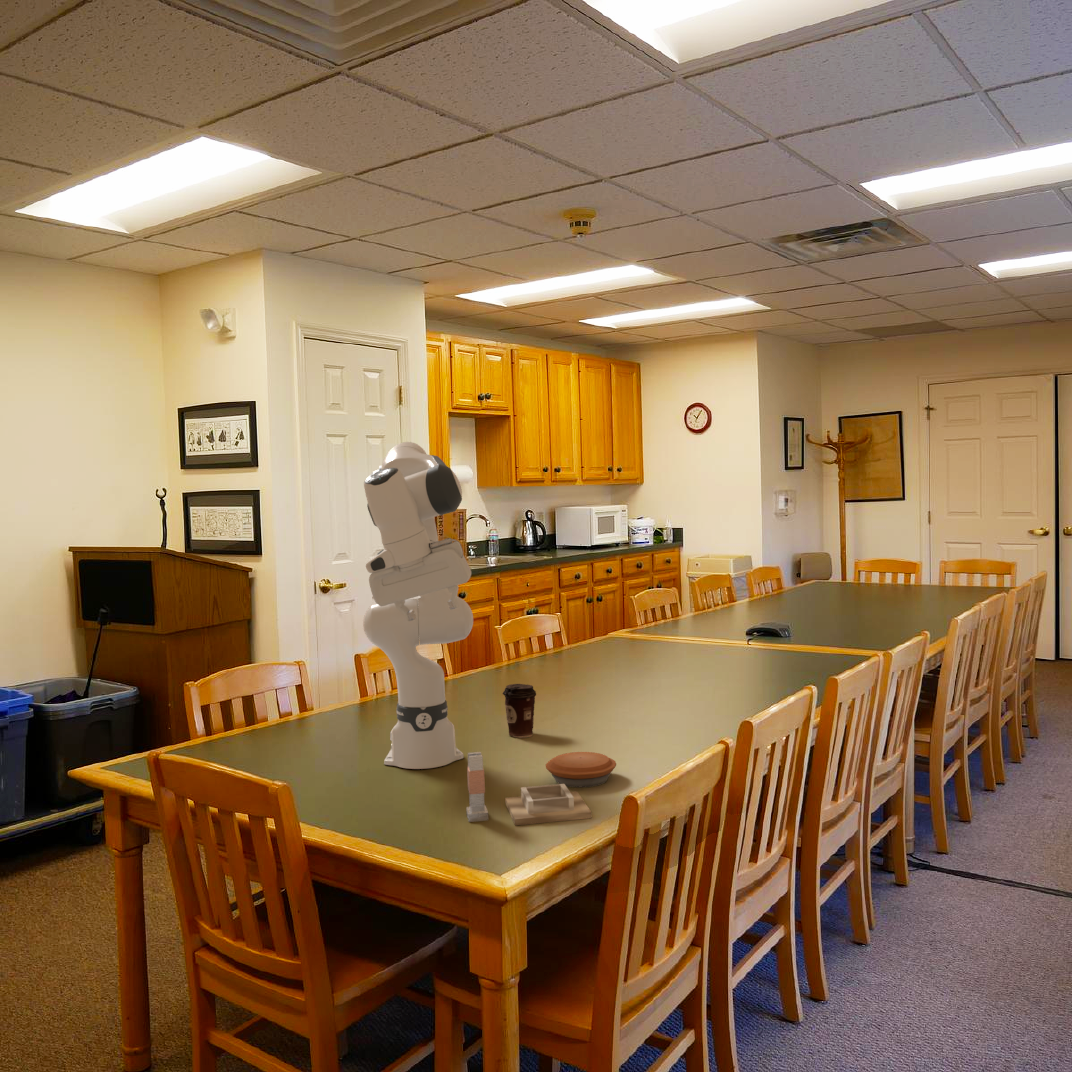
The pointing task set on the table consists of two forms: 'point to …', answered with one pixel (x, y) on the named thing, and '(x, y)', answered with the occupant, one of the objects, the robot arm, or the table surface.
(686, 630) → the table surface
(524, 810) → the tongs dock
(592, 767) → the pie
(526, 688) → the coffee cup
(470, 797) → the grey orange upright bar
